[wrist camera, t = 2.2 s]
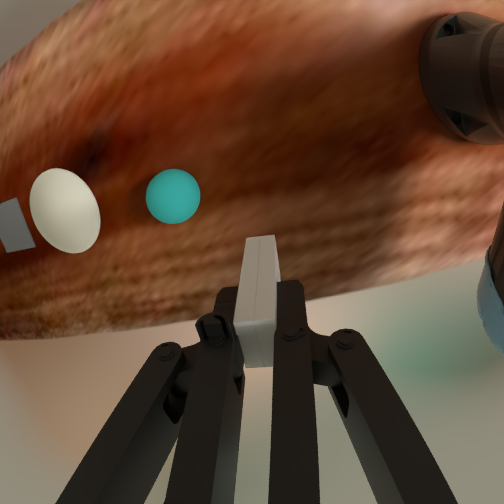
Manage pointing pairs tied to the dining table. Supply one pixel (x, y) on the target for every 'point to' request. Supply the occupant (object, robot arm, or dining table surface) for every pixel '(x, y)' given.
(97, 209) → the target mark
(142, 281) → the dining table surface
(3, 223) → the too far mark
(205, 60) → the dining table surface
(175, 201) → the ball
